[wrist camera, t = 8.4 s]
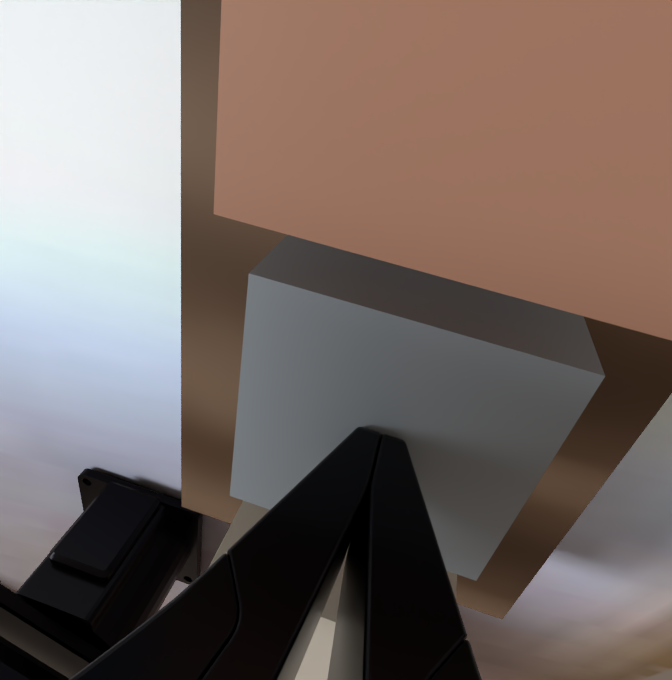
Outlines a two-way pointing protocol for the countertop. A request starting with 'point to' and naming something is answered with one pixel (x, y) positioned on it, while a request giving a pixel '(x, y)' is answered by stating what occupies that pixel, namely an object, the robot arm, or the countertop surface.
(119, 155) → the countertop surface
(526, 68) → the terracotta key
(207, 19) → the key block
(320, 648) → the cream key
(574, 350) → the slate key
